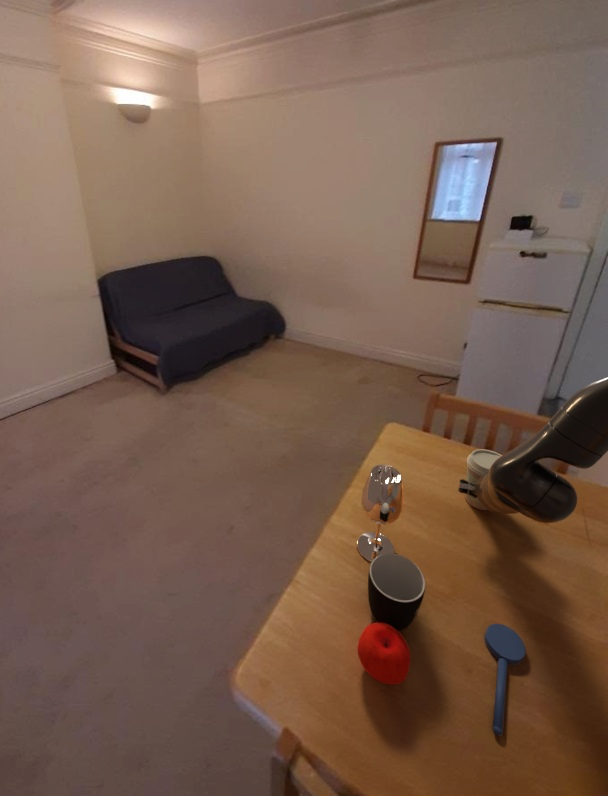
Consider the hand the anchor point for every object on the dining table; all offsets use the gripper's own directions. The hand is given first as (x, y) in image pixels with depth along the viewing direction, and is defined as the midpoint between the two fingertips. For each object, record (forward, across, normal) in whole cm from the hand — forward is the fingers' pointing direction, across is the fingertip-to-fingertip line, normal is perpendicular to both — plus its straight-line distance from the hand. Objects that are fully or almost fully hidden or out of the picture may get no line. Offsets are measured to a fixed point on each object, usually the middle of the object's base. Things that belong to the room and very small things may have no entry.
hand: (484, 495), depth 89 cm
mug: (-16, +16, +25) cm, 34 cm away
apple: (-24, +16, +33) cm, 43 cm away
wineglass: (-8, +20, +17) cm, 27 cm away
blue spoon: (-20, -2, +28) cm, 35 cm away
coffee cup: (+7, 0, +1) cm, 7 cm away
